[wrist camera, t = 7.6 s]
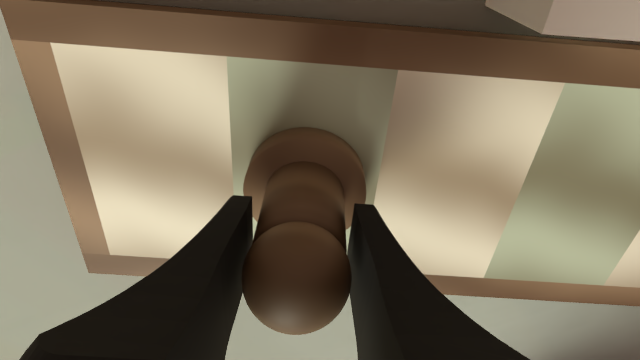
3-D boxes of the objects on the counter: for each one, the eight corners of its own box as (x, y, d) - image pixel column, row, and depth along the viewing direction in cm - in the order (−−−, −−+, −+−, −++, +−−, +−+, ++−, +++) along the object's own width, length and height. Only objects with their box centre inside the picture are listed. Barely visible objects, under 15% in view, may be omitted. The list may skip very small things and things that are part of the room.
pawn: (356, 229, 16) (369, 379, 11) (249, 221, 16) (208, 369, 11) (372, 132, 14) (398, 262, 9) (246, 122, 14) (192, 247, 8)
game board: (715, 298, 20) (729, 311, 19) (97, 260, 19) (88, 272, 18) (922, 68, 13) (954, 75, 13) (14, -7, 12) (-4, -3, 12)
